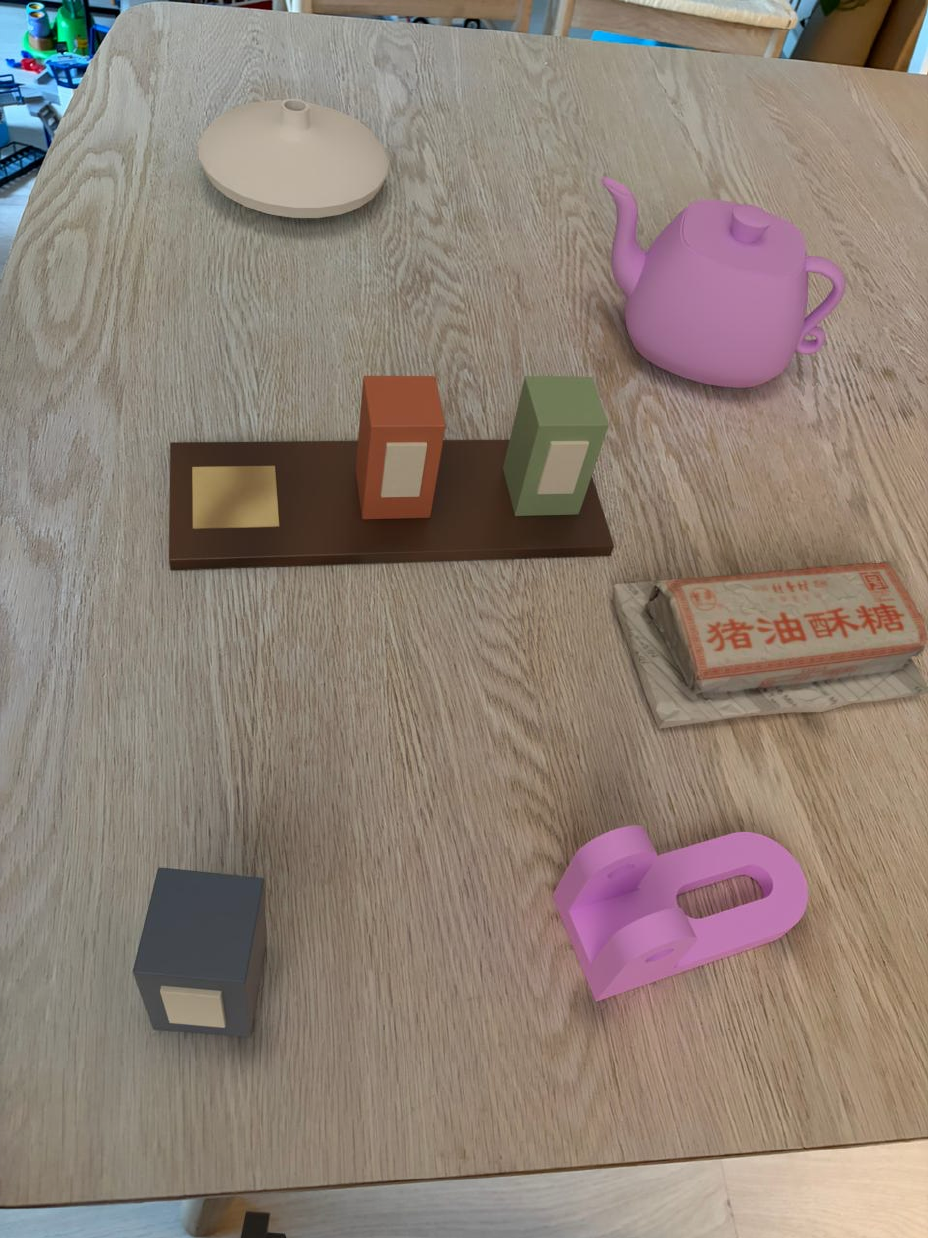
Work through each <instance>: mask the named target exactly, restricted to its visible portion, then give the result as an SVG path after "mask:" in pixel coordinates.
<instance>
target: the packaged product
mask: <svg viewBox="0 0 928 1238" xmlns="http://www.w3.org/2000/svg"><path fill="white" fill-rule="evenodd" d="M895 567H896V566H895V565H894V564H893V562H892V561H890V560H886V561H880V562H861V563H851V562H850V563H846V564H839V565H821V566H816V567H805V568H789V569H784V570H782V569H779V570H767V571H762V572H761V571H759V572H758V571H757V572H747V573H746V572H745V573H734V574H723V575H722V574H721V575H714V576H712V575H711V576H705V577H685V578H672V579H664V580H663V579H661V580H652V581H651V580H649V581H638V582H629V583H628V582H627V583H626V582H625V583H623V582H622V583H615V584H614V585H613V589H612V590H613V591H612V598H611V601H612V604H613V607H614V610H615V612H616V615H617V618H618V621H619V623H620V626H621V629H622V631H623V634H624V637H625V640H626V642H627V646H628V649H629V651H630V654H631V657H632V660H633V664H634V666H635V669H636V672H637V675H638V677H639V680H640V683H641V686H642V689H643V692H644V696H645V698H646V700H647V702H648V706H649V708H650V710H651V713H652V716H653V718H654V720H655V724H656V726H657V728H658V729H666V728H667V729H668V728H674V727H680V726H687V725H694V724H700V723H701V724H702V723H708V722H715V721H720V720H728V719H733V718H744V717H755V716H766V715H777V714H788V713H824V712H827V711H831V710H834V709H837V708H840V707H844V706H847V705H851V704H859V703H868V702H880V701H887V700H893V699H894V700H895V699H900V698H901V699H902V698H908V697H913V696H914V697H915V696H921V695H924V694H928V685H927V683H926V681H925V680H924V678H923V676H922V674H921V672H920V670H919V668H918V666H917V665H916V662H915V661H914V660H912V657H919V655H920V654H922V653H923V652H924V651H925V645H926V643H927V641H928V634H927V631H926V625H925V621H926V618H925V616H924V614H923V613H921V612H920V611H919V610H918V608H917V605H916V603H915V601H914V600H913V599H912V597H911V595H910V593H909V589H908V588H907V587H906V584H905V583H904V581H903V579H902V578H901V576H900V574H899V573H898V571H897V570H896V568H895Z"/></svg>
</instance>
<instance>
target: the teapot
mask: <svg viewBox="0 0 928 1238" xmlns="http://www.w3.org/2000/svg"><path fill="white" fill-rule="evenodd" d="M600 179H601V183H602V184H603V186H604V187H605V188H606V190H607V191H608V193H609V195H610V196H611V197H612V199H613V202H614V205H615V211H616V221H615V222H616V223H615V229H614V230H615V231H614V235H613V240H612V245H611V253H610V267H611V272H612V277H613V278H614V281H615V283H616V285H617V286H618V288H619V289H620V290H621V291H622V293H623V294H624V295H625V303H624V305H625V307H624V321H625V326H626V330H627V333H628V336H629V338H630V341H631V343H632V345H633V347H634V349H635V350H636V351H637V352H638V353H639V354H640V356H642V357H643V358H644V359H645V360H647V361H648V362H650V363H652V364H653V365H655V366H657V367H659V368H661V369H663V370H664V371H667V372H669V373H672V374H674V375H676V376H679V377H681V378H683V379H687V380H691V381H693V382H697V383H700V384H706V385H710V386H717V387H724V388H735V389H736V388H737V389H743V388H744V389H745V388H746V389H748V388H755V387H757V386H761V385H762V384H765V383H766V382H768V381H771V380H773V379H774V378H776V377H778V376H779V375H780V374H782V373H783V372H784V371H785V370H786V369H787V368H788V366H789V365H790V364H791V362H792V359H793V357H794V355H795V352H796V353H798V354H800V355H813V354H816V353H817V352H819V351H820V350H821V349H822V348H823V346H824V345H825V342H826V338H827V337H826V332H825V330H824V328H823V327H821V326H818V325H820V323H822V321H824V320H825V319H826V318H827V317H828V316H829V315H830V314H831V313H832V312H833V311H834V310H835V309H836V308H837V306H838V305H839V304H840V302H841V301H842V299H843V297H844V294H845V291H846V277H845V275H844V273H843V271H842V269H841V268H840V267H839V265H837V264H836V263H835V262H833V261H832V260H830V259H829V258H826V257H823V256H817V255H809V256H808V255H807V247H806V246H807V245H806V240H805V236H804V235H803V233H802V232H801V230H800V229H799V228H798V227H797V226H796V225H795V224H794V223H792V222H791V221H789V220H787V219H785V218H782V217H780V216H778V215H776V214H774V213H771V212H769V211H766V210H765V209H763V208H762V207H760V206H757V205H754V204H750V203H739V202H734V201H727V200H722V199H721V200H720V199H699V200H696V201H695V200H694V201H693V202H690V203H689V204H688V205H687V206H686V207H685V208H683V209H682V210H680V212H679V213H677V215H676V216H675V217H674V218H673V219H672V220H671V221H670V222H669V223H668V224H667V225H666V226H665V227H664V228H663V229H662V231H660V233H659V234H658V235H657V236H656V237H655V239H654V241H653V242H652V243H651V245H650V246H649V248H648V249H647V250H646V252H645V251H644V249H643V248H642V247H641V245H640V244H639V241H638V239H637V226H638V219H639V206H638V202H637V200H636V197H635V195H634V193H632V191H631V190H630V189H629V188H627V187H626V186H625V185H624V184H623V183H620V182H619V181H616V180H615V179H612V178H610V177H607V176H602V177H601V178H600ZM809 273H813V274H818V275H820V276H823V277H825V278H827V279H828V280H829V281H830V282H831V283H832V289H831V290H830V292H829V293H828V295H827V296H826V297H825V298H824V299H823V301H822V302H820V303H819V305H817V307H815V308H814V309H813V310H812V311H811V312H810V313H808V315H807V308H808V302H809V299H808V298H809ZM807 336H812V337H814V339H806V337H807Z"/></svg>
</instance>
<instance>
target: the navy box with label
mask: <svg viewBox="0 0 928 1238" xmlns="http://www.w3.org/2000/svg"><path fill="white" fill-rule="evenodd" d="M150 894H151V895H150V898H149V904H148V907H147V911H146V915H145V919H144V923H143V927H142V932H141V935H140V939H139V944H138V948H137V952H136V956H135V960H134V964H133V969H132V974H133V977H134V980H135V982H136V985H137V989H138V991H139V995H140V997H141V1000H142V1002H143V1006H144V1009H145V1011H146V1013H147V1016H148V1019H149V1022H150V1025H151V1027H152V1030H157V1031H167V1032H179V1033H189V1034H201V1035H210V1036H211V1035H213V1036H222V1037H223V1036H224V1037H236V1038H246V1039H250V1038H251V1036H252V1033H253V1032H252V1031H253V1025H254V1021H255V1020H254V1019H255V1013H256V1007H257V1003H258V997H259V996H258V995H259V991H260V990H259V989H260V984H261V979H262V978H261V977H262V971H263V966H264V960H265V954H266V948H267V926H266V900H265V899H266V897H265V896H266V895H265V878H264V877H259V876H258V877H257V876H249V875H248V876H247V875H239V874H229V873H219V872H210V871H209V872H208V871H201V870H200V871H199V870H189V869H178V868H169V867H160V866H159V867H158V868H157V870H156V874H155V878H154V882H153V887H152V891H151V893H150Z"/></svg>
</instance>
